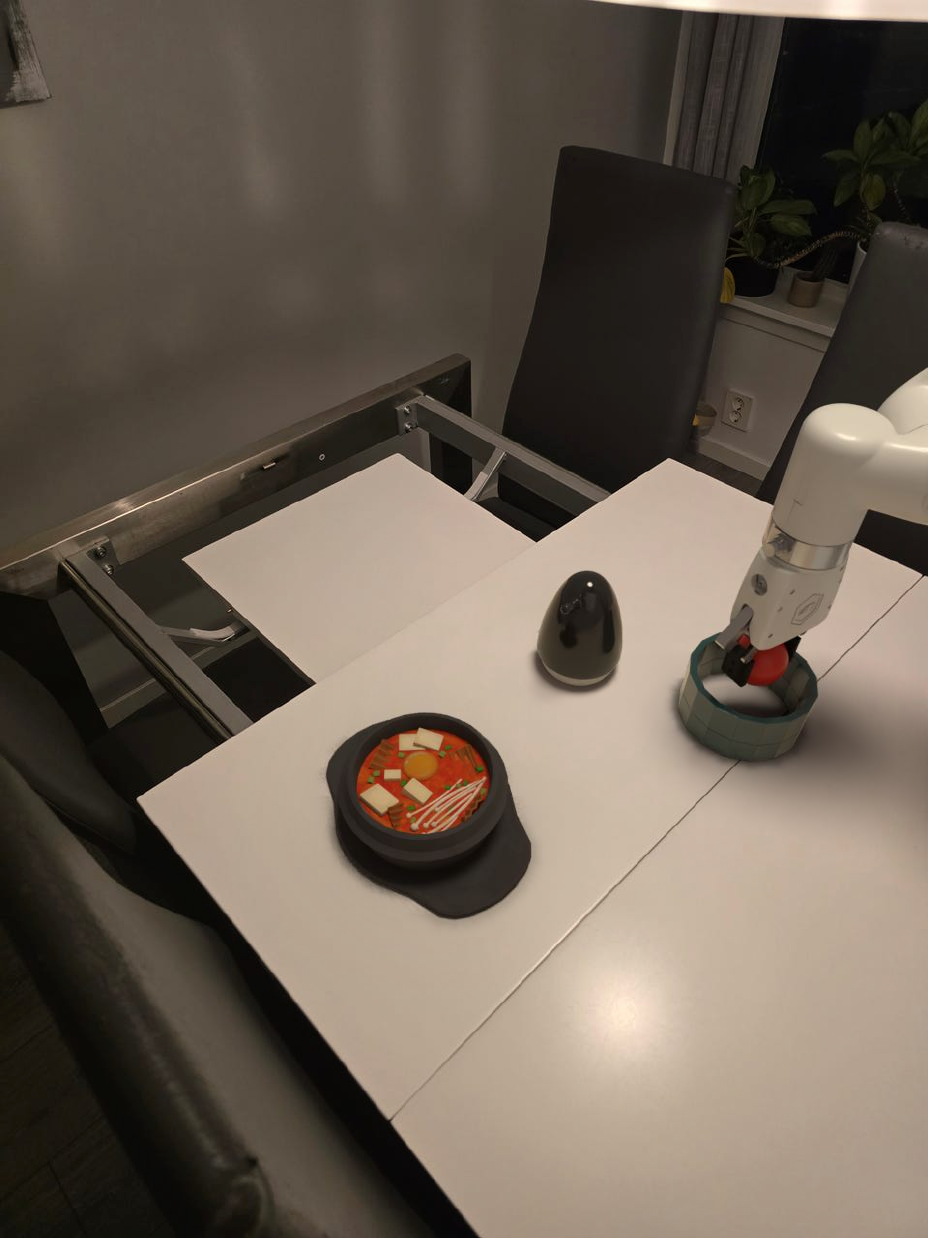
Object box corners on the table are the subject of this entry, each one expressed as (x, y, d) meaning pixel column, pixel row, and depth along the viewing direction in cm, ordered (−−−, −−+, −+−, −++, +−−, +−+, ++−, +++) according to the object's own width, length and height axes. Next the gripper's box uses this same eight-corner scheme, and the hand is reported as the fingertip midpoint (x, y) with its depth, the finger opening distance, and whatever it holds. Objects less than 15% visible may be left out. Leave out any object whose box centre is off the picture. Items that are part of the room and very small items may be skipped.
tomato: (770, 656, 89) (788, 613, 84) (786, 697, 85) (806, 654, 80) (717, 656, 89) (732, 612, 84) (730, 697, 84) (747, 653, 80)
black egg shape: (518, 674, 97) (524, 583, 86) (562, 627, 103) (574, 536, 92) (589, 714, 92) (605, 623, 82) (631, 662, 98) (652, 570, 88)
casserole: (572, 850, 80) (580, 805, 74) (426, 967, 71) (423, 926, 66) (425, 702, 94) (422, 654, 88) (288, 785, 85) (275, 738, 79)
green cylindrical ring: (736, 661, 99) (753, 615, 93) (821, 736, 90) (844, 691, 85) (652, 702, 94) (664, 657, 88) (733, 787, 85) (753, 742, 80)
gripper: (770, 591, 67) (720, 721, 80) (903, 530, 74) (837, 659, 86) (710, 543, 72) (672, 673, 85) (839, 489, 78) (786, 618, 91)
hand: (756, 665), depth 85 cm, fingers closed on tomato, 6 cm apart
